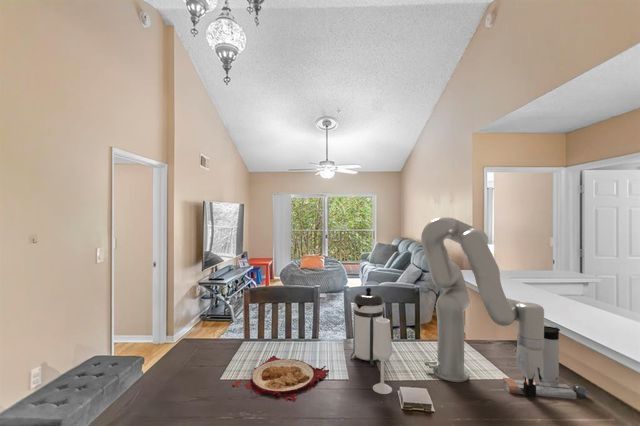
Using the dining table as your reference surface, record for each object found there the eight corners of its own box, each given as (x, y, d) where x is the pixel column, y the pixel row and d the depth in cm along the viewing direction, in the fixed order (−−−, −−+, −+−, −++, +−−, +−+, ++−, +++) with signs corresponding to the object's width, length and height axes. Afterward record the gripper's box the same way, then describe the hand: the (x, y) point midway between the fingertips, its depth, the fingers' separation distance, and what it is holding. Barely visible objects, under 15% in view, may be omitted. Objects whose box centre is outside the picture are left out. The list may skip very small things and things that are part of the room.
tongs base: (579, 390, 113) (579, 382, 113) (588, 398, 108) (589, 390, 108) (502, 384, 117) (502, 376, 117) (508, 391, 112) (508, 383, 112)
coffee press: (392, 367, 129) (392, 292, 129) (351, 366, 130) (352, 291, 130) (384, 348, 147) (384, 282, 147) (348, 348, 147) (349, 282, 147)
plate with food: (273, 360, 137) (273, 351, 137) (329, 373, 124) (329, 364, 124) (231, 388, 115) (231, 378, 115) (294, 408, 103) (294, 397, 103)
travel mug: (563, 387, 115) (563, 331, 115) (542, 385, 116) (542, 330, 116) (554, 378, 121) (554, 325, 121) (534, 377, 122) (535, 324, 122)
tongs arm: (571, 394, 110) (571, 387, 110) (576, 399, 108) (576, 392, 108) (506, 388, 114) (506, 381, 114) (509, 392, 111) (509, 385, 111)
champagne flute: (379, 381, 118) (380, 315, 118) (395, 388, 114) (396, 320, 114) (368, 388, 114) (369, 320, 114) (384, 396, 109) (385, 325, 109)
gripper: (509, 331, 117) (508, 382, 117) (528, 349, 102) (527, 407, 102) (532, 333, 116) (531, 384, 116) (554, 351, 101) (553, 410, 101)
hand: (529, 395), depth 109 cm, fingers closed
